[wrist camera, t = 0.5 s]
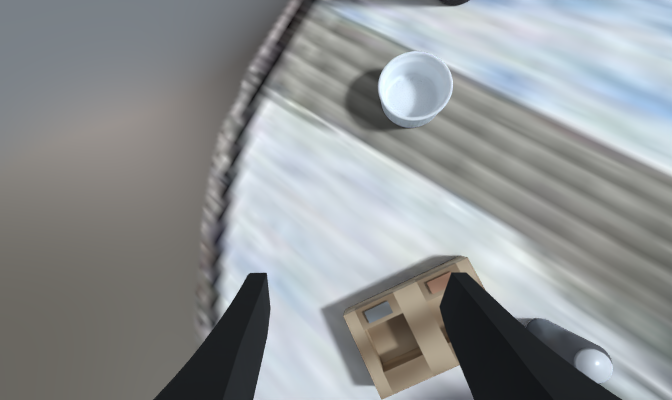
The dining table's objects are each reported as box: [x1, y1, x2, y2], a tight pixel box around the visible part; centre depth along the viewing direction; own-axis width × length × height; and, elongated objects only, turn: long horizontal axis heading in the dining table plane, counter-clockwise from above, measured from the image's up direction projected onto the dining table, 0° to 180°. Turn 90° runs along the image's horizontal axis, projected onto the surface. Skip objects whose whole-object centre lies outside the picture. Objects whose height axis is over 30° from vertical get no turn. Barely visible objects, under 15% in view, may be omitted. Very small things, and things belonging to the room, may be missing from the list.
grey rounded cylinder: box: [526, 318, 613, 384], centre depth 31 cm, size 4×4×9 cm
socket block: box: [343, 256, 486, 399], centre depth 35 cm, size 10×16×3 cm, turn 116°
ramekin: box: [378, 51, 453, 128], centre depth 38 cm, size 9×9×4 cm
